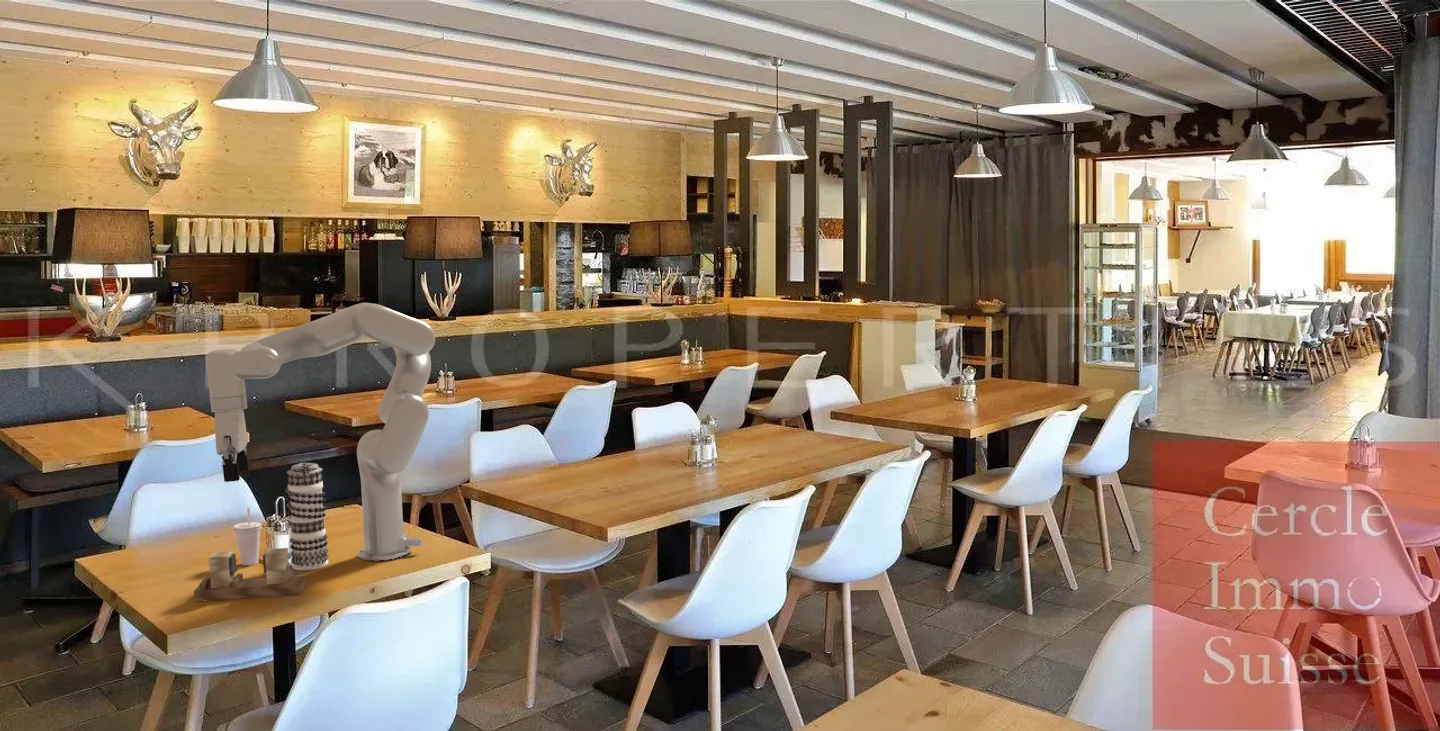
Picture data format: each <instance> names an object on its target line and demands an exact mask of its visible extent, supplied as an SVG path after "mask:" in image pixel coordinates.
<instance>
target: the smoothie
mask: <svg viewBox="0 0 1440 731" xmlns="http://www.w3.org/2000/svg"><path fill="white" fill-rule="evenodd" d="M246 512H247V514H246V515H247V521H246V522H241V523H236V524H235V525H234V526H233V532H234V533H235V537H236V542H237V548H238V552H239V557H240V562H241V565H242V566H245V565H248V566H254V565H256V563H257V564H259V554H260V540H261V529H262V527H263V526H262V523H261V522H259V521H251V512H250V507H247V508H246ZM253 564H254V565H253Z"/></svg>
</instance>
